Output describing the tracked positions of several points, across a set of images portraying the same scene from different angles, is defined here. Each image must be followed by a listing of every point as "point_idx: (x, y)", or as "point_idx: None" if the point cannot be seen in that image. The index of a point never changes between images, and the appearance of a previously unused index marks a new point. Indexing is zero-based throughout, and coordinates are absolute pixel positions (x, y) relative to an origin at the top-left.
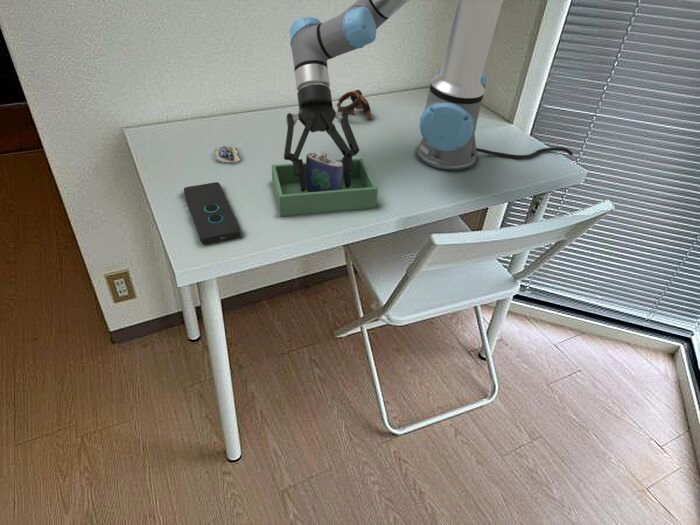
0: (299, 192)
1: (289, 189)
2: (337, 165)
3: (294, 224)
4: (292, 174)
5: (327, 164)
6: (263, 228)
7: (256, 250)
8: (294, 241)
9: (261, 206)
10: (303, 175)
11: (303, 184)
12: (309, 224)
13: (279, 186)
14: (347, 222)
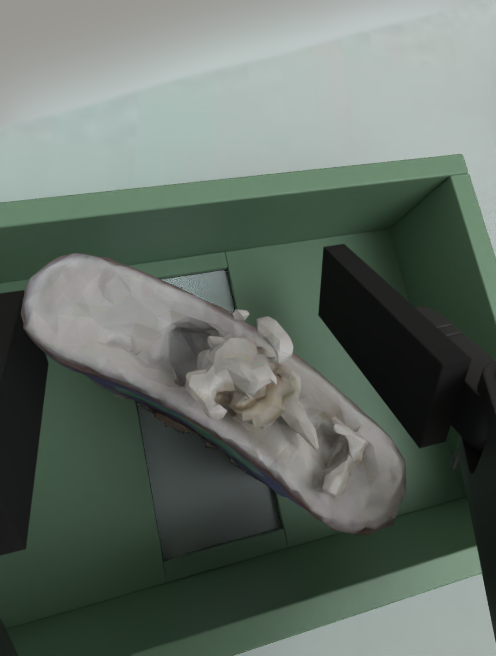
0: None
1: None
2: (86, 265)
3: (328, 154)
4: (407, 534)
5: (192, 294)
6: (447, 135)
7: (446, 14)
8: (317, 46)
9: None
10: (370, 286)
11: (347, 255)
12: (262, 150)
13: (482, 258)
14: (74, 154)
